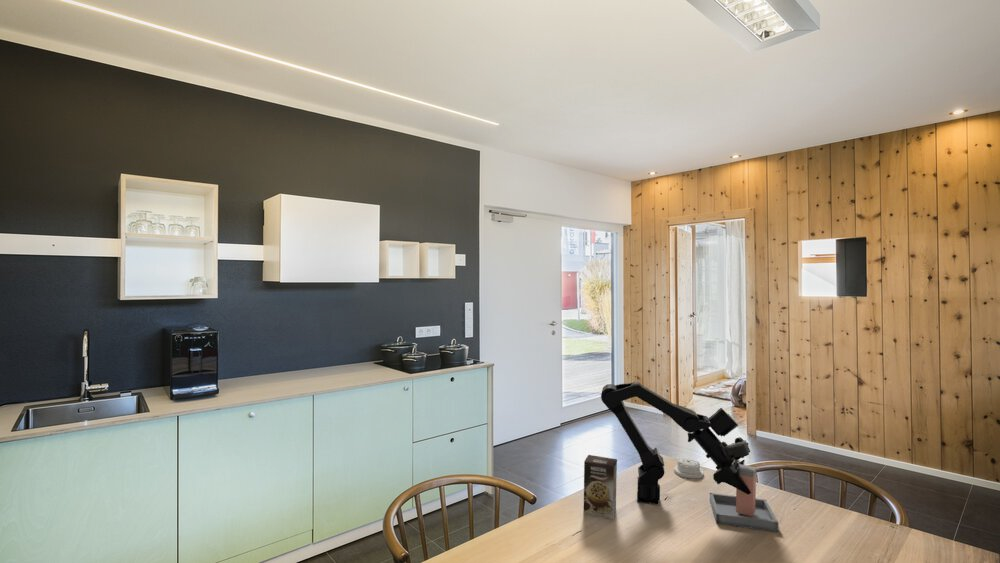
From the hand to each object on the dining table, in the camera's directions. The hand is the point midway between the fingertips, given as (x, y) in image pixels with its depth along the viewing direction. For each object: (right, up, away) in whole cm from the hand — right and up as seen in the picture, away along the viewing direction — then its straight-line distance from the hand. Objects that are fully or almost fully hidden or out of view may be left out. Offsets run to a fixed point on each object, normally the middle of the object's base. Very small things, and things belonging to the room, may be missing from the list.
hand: (751, 490), depth 143 cm
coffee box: (-44, -8, +4) cm, 45 cm away
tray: (-2, -8, +2) cm, 9 cm away
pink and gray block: (-1, -7, +1) cm, 7 cm away
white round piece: (-6, -8, +33) cm, 34 cm away
